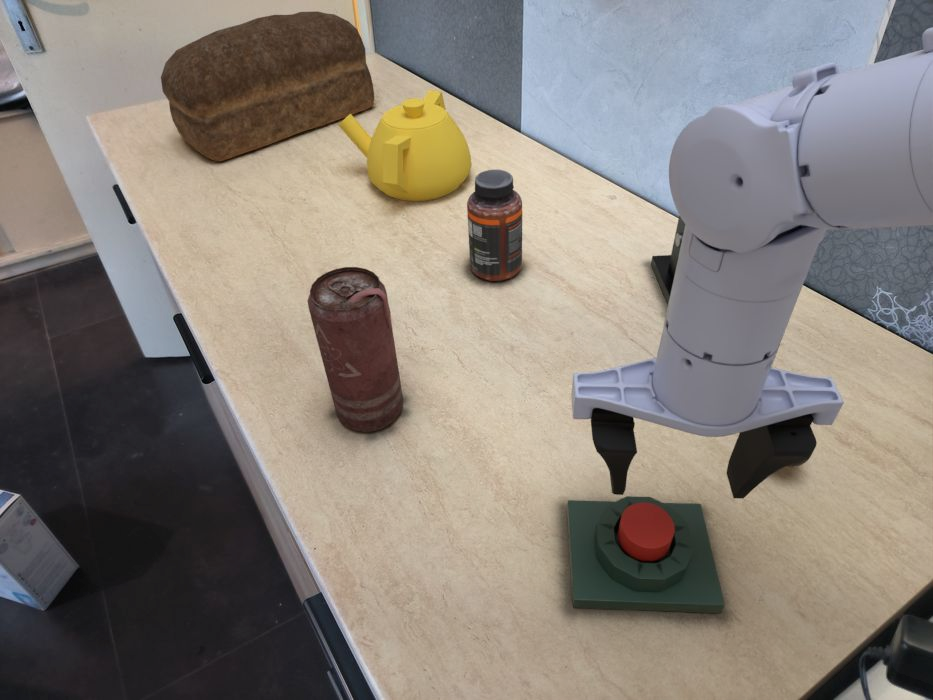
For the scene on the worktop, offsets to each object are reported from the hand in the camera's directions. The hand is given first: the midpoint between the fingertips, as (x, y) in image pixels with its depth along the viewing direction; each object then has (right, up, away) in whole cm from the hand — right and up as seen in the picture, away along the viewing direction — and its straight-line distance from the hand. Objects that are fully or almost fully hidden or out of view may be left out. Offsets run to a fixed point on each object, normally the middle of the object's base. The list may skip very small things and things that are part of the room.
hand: (675, 483), depth 43 cm
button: (-1, -4, +3) cm, 5 cm away
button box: (-1, -6, +5) cm, 8 cm away
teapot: (-22, +33, +49) cm, 63 cm away
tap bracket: (+11, +15, +27) cm, 33 cm away
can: (-22, +3, +17) cm, 28 cm away
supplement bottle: (-10, +18, +32) cm, 38 cm away
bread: (-44, +46, +64) cm, 90 cm away
